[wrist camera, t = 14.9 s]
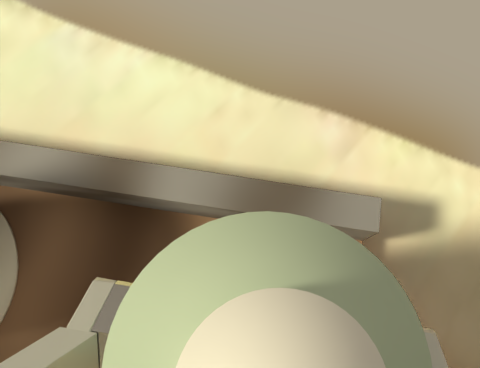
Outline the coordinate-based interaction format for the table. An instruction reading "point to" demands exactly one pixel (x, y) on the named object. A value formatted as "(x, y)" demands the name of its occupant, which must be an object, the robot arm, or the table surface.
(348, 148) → the table surface
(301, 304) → the slim bottle
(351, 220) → the rail stand
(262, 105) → the table surface
